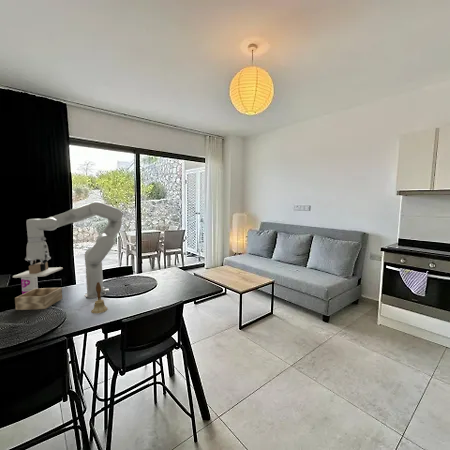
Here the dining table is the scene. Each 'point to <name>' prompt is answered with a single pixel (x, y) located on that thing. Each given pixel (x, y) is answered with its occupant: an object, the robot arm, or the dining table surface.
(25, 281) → the supplement can
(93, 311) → the hand bell
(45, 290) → the box
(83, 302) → the dining table surface
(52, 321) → the dining table surface
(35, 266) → the lid
